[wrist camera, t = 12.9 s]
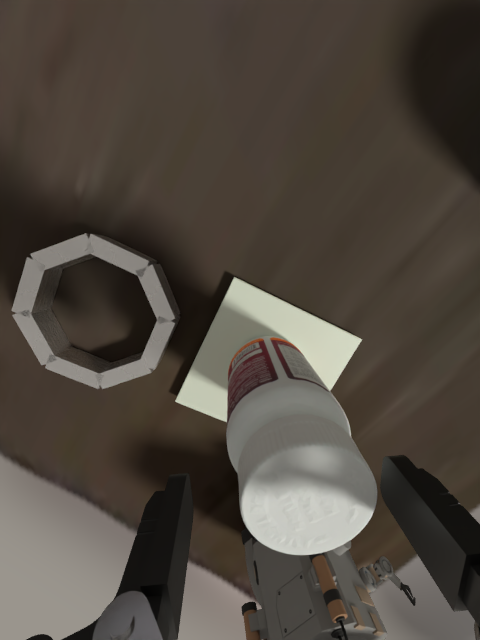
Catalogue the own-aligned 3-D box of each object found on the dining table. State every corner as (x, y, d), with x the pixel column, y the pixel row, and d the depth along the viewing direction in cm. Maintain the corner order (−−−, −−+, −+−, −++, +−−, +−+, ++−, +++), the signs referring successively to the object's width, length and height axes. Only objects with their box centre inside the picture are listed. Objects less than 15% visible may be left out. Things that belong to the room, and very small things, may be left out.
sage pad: (177, 396, 22) (175, 401, 21) (234, 276, 19) (234, 277, 19) (291, 442, 23) (294, 449, 22) (357, 336, 21) (361, 339, 20)
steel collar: (22, 341, 20) (-1, 350, 18) (61, 214, 18) (40, 209, 16) (147, 391, 21) (139, 404, 19) (197, 279, 19) (193, 282, 17)
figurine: (309, 574, 27) (401, 943, 13) (229, 519, 25) (228, 887, 10) (376, 523, 26) (565, 872, 11) (297, 459, 24) (404, 790, 9)
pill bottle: (228, 406, 21) (225, 571, 10) (227, 334, 20) (221, 435, 9) (304, 404, 21) (381, 564, 10) (307, 332, 20) (403, 430, 9)
